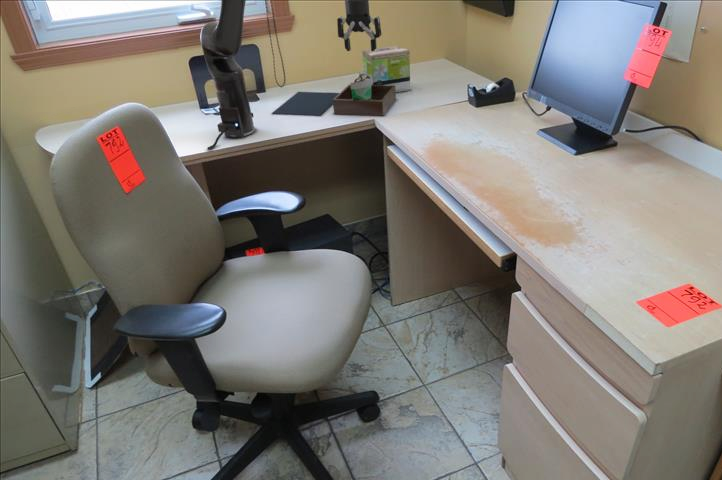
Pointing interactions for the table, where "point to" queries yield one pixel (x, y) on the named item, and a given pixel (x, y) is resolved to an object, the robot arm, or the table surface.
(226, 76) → the robot arm
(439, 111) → the table surface
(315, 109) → the desk mat
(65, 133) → the table surface
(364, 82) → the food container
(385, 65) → the tea box
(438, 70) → the table surface
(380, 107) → the crate
